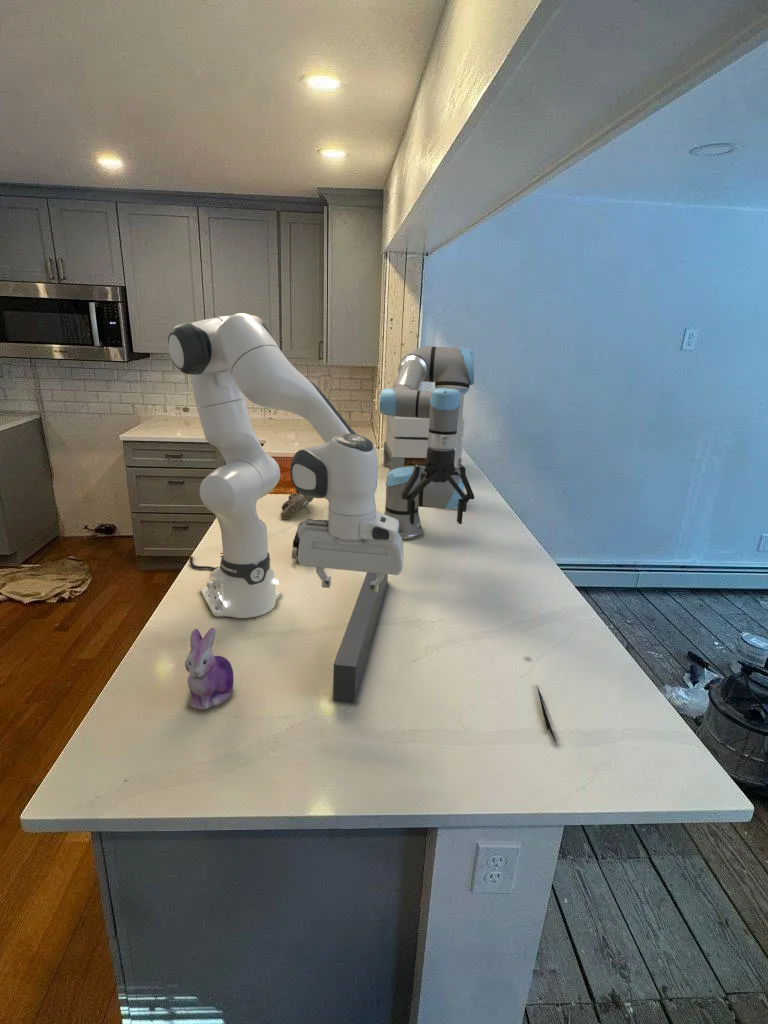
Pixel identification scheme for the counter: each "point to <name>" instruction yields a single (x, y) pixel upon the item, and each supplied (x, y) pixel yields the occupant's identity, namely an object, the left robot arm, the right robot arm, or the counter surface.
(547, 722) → the feather
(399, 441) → the white slatted crate
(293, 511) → the fossil
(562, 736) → the counter surface
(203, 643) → the figurine
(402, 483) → the right robot arm
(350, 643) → the beam
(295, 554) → the figurine character
